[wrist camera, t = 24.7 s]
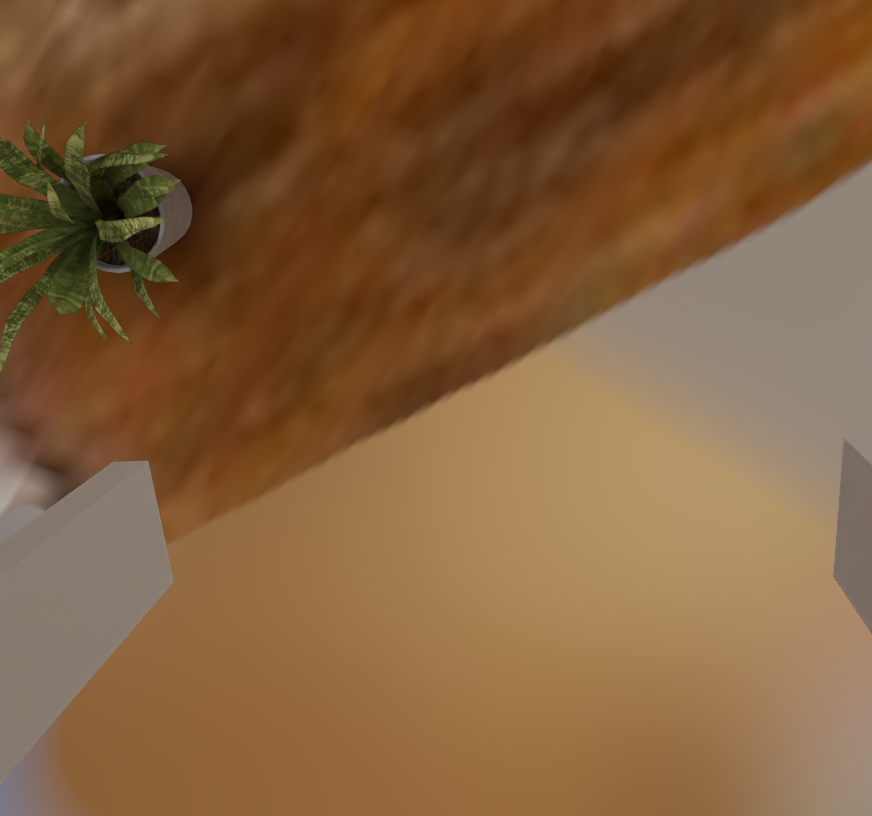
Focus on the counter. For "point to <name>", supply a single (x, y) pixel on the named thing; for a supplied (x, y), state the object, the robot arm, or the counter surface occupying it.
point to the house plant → (88, 224)
